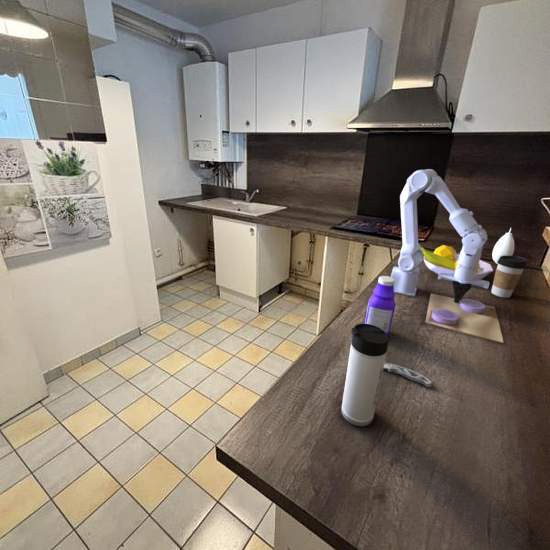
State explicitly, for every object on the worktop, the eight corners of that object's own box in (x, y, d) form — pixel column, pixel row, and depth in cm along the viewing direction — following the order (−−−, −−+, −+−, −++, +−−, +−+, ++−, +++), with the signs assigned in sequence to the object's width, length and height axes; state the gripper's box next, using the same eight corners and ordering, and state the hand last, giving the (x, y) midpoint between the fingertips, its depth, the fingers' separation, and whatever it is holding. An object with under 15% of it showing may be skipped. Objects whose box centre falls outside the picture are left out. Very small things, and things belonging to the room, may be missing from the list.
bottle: (389, 329, 87) (400, 276, 80) (389, 340, 82) (401, 284, 75) (364, 324, 89) (372, 272, 82) (363, 335, 84) (372, 280, 77)
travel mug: (335, 402, 61) (347, 320, 54) (366, 400, 62) (381, 320, 54) (344, 428, 56) (358, 341, 48) (378, 426, 56) (397, 340, 48)
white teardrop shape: (509, 263, 142) (522, 227, 135) (507, 268, 137) (521, 230, 130) (490, 260, 147) (501, 224, 140) (487, 263, 142) (499, 227, 135)
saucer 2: (459, 309, 98) (460, 304, 97) (458, 301, 104) (460, 296, 103) (484, 315, 95) (486, 310, 94) (482, 306, 101) (484, 301, 100)
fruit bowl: (483, 269, 135) (491, 246, 130) (492, 292, 112) (501, 265, 108) (417, 259, 146) (422, 237, 142) (413, 277, 124) (419, 252, 120)
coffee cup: (518, 301, 106) (534, 262, 100) (493, 298, 107) (506, 260, 102) (506, 291, 114) (520, 255, 108) (483, 289, 115) (495, 253, 109)
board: (424, 323, 91) (425, 322, 90) (430, 294, 110) (430, 293, 110) (503, 344, 81) (503, 342, 81) (494, 308, 101) (494, 307, 100)
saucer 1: (430, 320, 91) (432, 315, 90) (431, 310, 97) (433, 306, 96) (457, 327, 88) (458, 321, 87) (456, 316, 94) (458, 311, 93)
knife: (354, 362, 73) (357, 355, 76) (431, 389, 65) (432, 381, 68) (355, 357, 73) (358, 350, 75) (432, 384, 65) (433, 375, 67)
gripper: (441, 264, 96) (432, 301, 101) (494, 273, 89) (481, 312, 95) (442, 258, 102) (433, 293, 107) (492, 266, 95) (480, 303, 100)
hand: (456, 301), depth 101 cm, fingers closed
